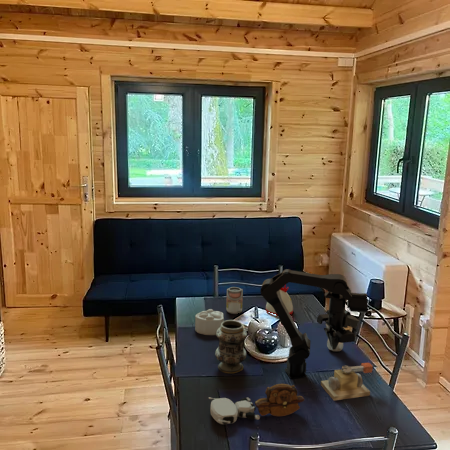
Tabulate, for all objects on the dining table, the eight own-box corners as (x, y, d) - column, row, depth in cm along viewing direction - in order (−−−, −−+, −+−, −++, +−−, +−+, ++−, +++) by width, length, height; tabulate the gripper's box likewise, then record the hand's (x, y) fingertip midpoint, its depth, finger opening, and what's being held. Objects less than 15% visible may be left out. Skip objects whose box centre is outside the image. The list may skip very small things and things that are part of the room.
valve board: (333, 400, 151) (335, 383, 150) (320, 384, 161) (321, 368, 160) (369, 395, 155) (371, 378, 154) (354, 380, 164) (356, 363, 163)
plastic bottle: (343, 354, 183) (346, 309, 179) (326, 352, 185) (329, 307, 181) (342, 347, 190) (345, 303, 185) (326, 345, 191) (329, 302, 187)
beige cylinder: (242, 315, 220) (243, 293, 218) (225, 315, 220) (226, 292, 218) (242, 308, 229) (242, 286, 227) (226, 308, 229) (226, 286, 227)
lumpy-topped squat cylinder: (223, 335, 199) (223, 317, 197) (194, 334, 198) (194, 317, 197) (223, 325, 209) (223, 308, 207) (195, 325, 209) (195, 307, 207)
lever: (367, 368, 160) (368, 362, 160) (372, 372, 157) (373, 366, 157) (339, 371, 158) (340, 364, 157) (344, 375, 155) (344, 369, 154)
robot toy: (248, 404, 150) (205, 408, 146) (250, 392, 149) (207, 395, 145) (261, 427, 138) (215, 431, 134) (262, 414, 138) (216, 418, 133)
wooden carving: (258, 423, 139) (259, 394, 137) (253, 414, 143) (254, 386, 141) (305, 414, 144) (307, 387, 142) (299, 406, 148) (301, 379, 146)
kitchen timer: (290, 318, 218) (292, 289, 215) (263, 314, 222) (264, 286, 219) (294, 307, 232) (295, 280, 228) (268, 304, 235) (269, 278, 232)
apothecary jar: (252, 367, 172) (253, 324, 168) (231, 379, 163) (232, 334, 160) (229, 356, 180) (230, 315, 176) (208, 367, 171) (209, 324, 168)
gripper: (371, 318, 153) (367, 359, 156) (343, 298, 170) (340, 335, 174) (342, 320, 150) (338, 362, 153) (317, 300, 168) (315, 338, 171)
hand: (333, 349), depth 163 cm, fingers closed
